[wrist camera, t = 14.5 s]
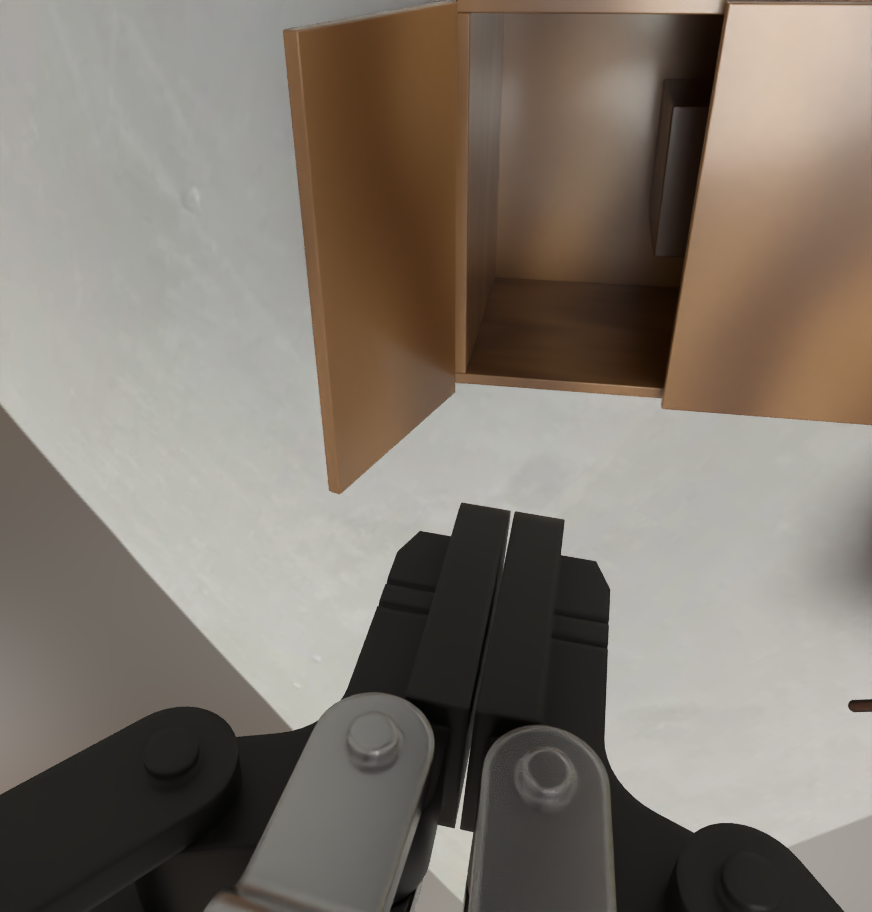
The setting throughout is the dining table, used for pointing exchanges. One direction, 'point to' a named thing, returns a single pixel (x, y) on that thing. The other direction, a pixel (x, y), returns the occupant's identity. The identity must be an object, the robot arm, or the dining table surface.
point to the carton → (628, 198)
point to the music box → (860, 705)
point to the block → (677, 162)
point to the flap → (377, 221)
